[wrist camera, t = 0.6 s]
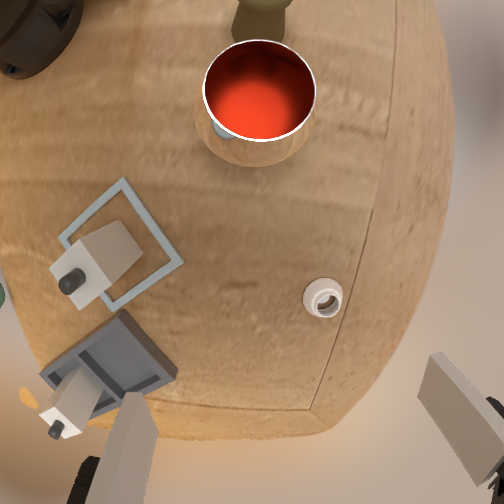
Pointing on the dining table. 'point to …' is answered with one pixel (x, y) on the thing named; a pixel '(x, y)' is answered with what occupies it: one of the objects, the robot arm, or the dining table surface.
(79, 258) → the white block with peg
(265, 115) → the wineglass
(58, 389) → the white plug
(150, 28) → the dining table surface
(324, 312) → the white short tapered ring
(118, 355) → the two-slot grey rack
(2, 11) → the robot arm
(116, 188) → the square frame
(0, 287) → the cupcake
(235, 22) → the cork
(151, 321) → the dining table surface
